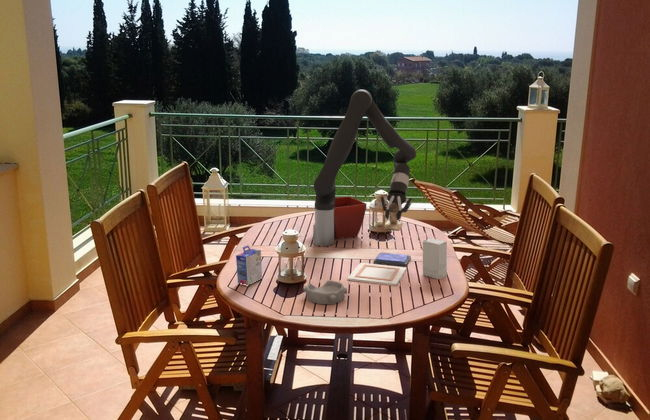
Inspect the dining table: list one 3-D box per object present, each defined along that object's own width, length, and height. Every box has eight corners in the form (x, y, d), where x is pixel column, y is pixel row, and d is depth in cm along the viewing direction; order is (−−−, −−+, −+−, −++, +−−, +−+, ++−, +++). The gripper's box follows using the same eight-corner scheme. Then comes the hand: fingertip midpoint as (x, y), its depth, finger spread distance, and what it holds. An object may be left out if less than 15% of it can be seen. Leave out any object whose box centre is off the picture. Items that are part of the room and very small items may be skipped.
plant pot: (315, 232, 318) (315, 199, 314) (349, 227, 326) (349, 196, 322) (331, 242, 302) (331, 207, 298) (367, 237, 309) (367, 204, 305)
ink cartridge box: (251, 277, 255) (250, 242, 251) (262, 279, 252) (262, 244, 249) (236, 284, 247) (235, 249, 243) (247, 287, 244) (246, 251, 240)
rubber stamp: (384, 229, 269) (384, 204, 266) (387, 226, 275) (388, 201, 272) (399, 230, 267) (399, 205, 264) (402, 227, 273) (402, 201, 270)
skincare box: (446, 276, 256) (448, 241, 252) (437, 280, 252) (439, 244, 248) (430, 271, 261) (431, 237, 258) (421, 274, 257) (422, 239, 254)
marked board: (347, 280, 251) (347, 277, 251) (360, 264, 270) (360, 262, 270) (396, 285, 245) (396, 283, 245) (406, 269, 264) (406, 266, 264)
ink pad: (373, 263, 272) (373, 259, 271) (379, 255, 282) (379, 251, 281) (405, 266, 267) (406, 262, 267) (410, 258, 277) (410, 254, 277)
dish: (299, 298, 233) (298, 285, 232) (325, 289, 242) (325, 276, 241) (326, 309, 223) (326, 296, 222) (353, 299, 232) (353, 286, 231)
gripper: (382, 179, 275) (374, 213, 267) (414, 181, 271) (408, 215, 263) (384, 189, 281) (377, 222, 273) (416, 191, 277) (410, 225, 269)
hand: (392, 218), depth 268 cm, fingers closed on rubber stamp, 4 cm apart
